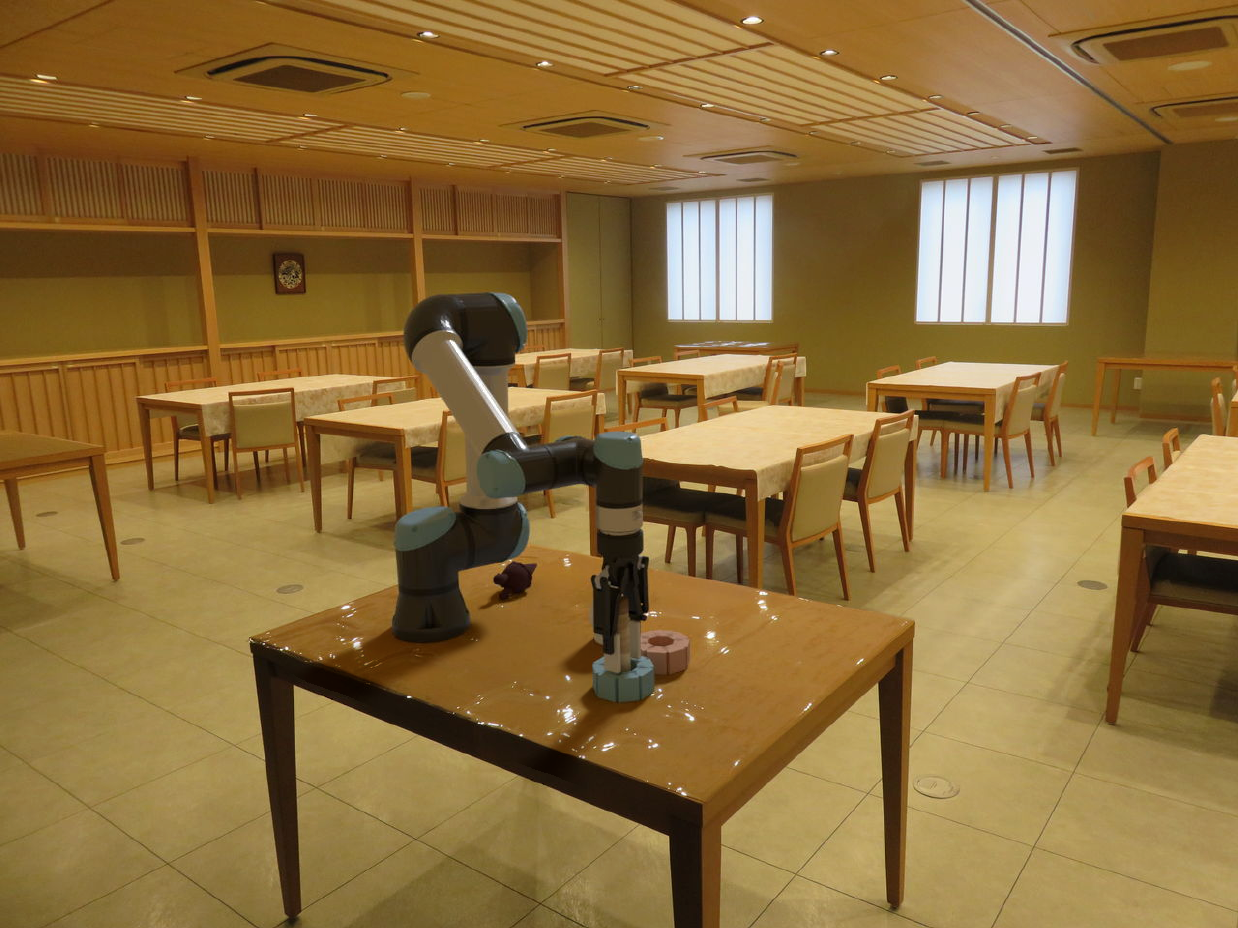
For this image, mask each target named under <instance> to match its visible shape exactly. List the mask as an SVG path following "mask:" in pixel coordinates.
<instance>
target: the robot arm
mask: <svg viewBox="0 0 1238 928" xmlns="http://www.w3.org/2000/svg"><path fill="white" fill-rule="evenodd" d="M526 319H527V318H526V316H525V314H524V311H523V309H522V307H521V306H520V304H519V303H518V301H517V300H516V299H515V298H514V297H513V296H512V295H510V294H508V293H505V292H491V291H484V292H481V291H480V292H470V293H469V292H465V293H451V294H447V293H438V294H437V293H436V294H434V295H429V296H428V297H426V298H423V299H422V300H420V301H419V302H418V303H416V305H415V306H414V307H413V309H412V310H411V311H410V312H409V313H408V315H407V319H406V321H405V323H404V327H403V335H402V337H403V345H404V349H405V353H406V355H407V358H408V359H409V360H410V362H411V364H412V365H413V367H414V368H415V370H416V371H417V372H418V373H421V374H423V375H426V377H427V378H428V380H429V381H430V383H431V384H432V386H433V387H434V389H435V391H436V392H437V394H438V395H439V396H440V398H441V400H442V401H443V403H444V404H445V406H446V407H447V409H448V410H449V412H450V414H451V415H452V417H453V418H454V420H455V421H456V423H457V425H458V426H459V427H460V428H461V430H462V432H463V434H464V448H465V449H464V451H465V452H464V454H465V456H464V457H465V482H466V483H465V484H466V491H465V493H463V494H462V495H461V496H460V497H459V499H458V501H459V502H458V503H459V504H458V505H459V511H456V512H455V511H454V509H453V508H452V507H449V506H444V505H443V506H442V505H441V506H440V505H438V506H433V507H431V506H430V507H429V506H428V507H423V508H420V509H415V510H412V511H410V512H408V513H407V514H405V515H403V516H401V517H400V518H399V519H398V521H397V522H396V523H395V526H394V540H393V546H394V549H395V560H396V561H395V562H396V573H397V584H398V585H397V586H398V587H397V588H398V595H397V599H396V600H397V601H396V605H395V610H394V615H393V616H392V619H391V628H392V629H391V630H392V631H391V632H392V634H393V636H395V637H396V638H398V639H400V640H402V641H404V642H405V641H406V642H411V643H431V642H441V641H445V640H449V639H453V638H455V637H458V636H460V635H462V634H463V633H465V632H466V631H467V630H469V628H470V626H471V613H470V610H469V609H468V607H467V605H466V601H465V598H464V595H463V594H462V591H461V589H460V582H459V581H460V578H459V573H460V572H463V571H466V570H471V569H474V568H475V569H476V568H480V567H484V566H489V565H494V564H499V563H500V564H502V563H505V562H507V561H508V560H512V559H515V558H516V559H517V558H518V557H519V556H520V555H521V554H522V553H523V552H524V551H525V549H526V548H527V546H528V544H529V540H530V539H529V538H530V532H531V529H530V528H531V527H530V519H529V518H528V512H527V509H526V508H525V507H524V506H523V504H521V503H520V502H518V497H519V496H523V495H527V494H533V493H537V492H542V491H549V490H555V489H556V490H557V489H560V488H565V487H572V486H577V485H578V486H579V485H583V486H587V487H588V486H589V487H591V488H594V489H595V526H596V528H597V529H598V530H597V531H596V550H597V553H598V554H599V556H601V557H602V565H601V571H600V573H598V574H599V575H598V574H592V575H591V576H590V582H591V583H590V584H591V587H592V601H593V627H592V629H593V630H592V632H593V634H595V633H596V634H600V635H602V636H603V645H602V651H603V656H604V670H608V671H611V672H615V673H619V672H621V667H620V634H617V633H616V632H617V624H618V617H619V603H620V602H621V595H622V594H623V596H624V597H627V598H628V608H629V618H630V619H629V636H630V658H633V659H637V660H639V659H641V633H642V624H641V623H642V622H646V621H647V620H648V615H645V614H648V613H649V611H650V608H649V607H650V604H649V598H650V597H649V575H648V574H649V573H648V570H649V564H650V557H649V556H646V555H640V554H642V553H643V551H644V547H645V545H644V543H645V542H644V530H643V529H642V527H643V525H644V513H643V512H644V511H643V509H644V508H643V499H644V498H643V497H644V495H643V494H644V493H643V490H644V488H643V483H644V481H643V478H644V477H643V473H644V472H643V471H644V470H643V469H644V468H643V464H644V457H643V452H642V450H643V449H642V440H641V438H640V436H639V435H638V434H637V433H634V432H630V431H626V432H625V431H608V432H607V431H606V432H602V433H598V434H597V435H596V436H595V438H594V439H591V438H587V437H585V436H584V437H583V436H581V435H574V436H573V435H562V436H560V437H559V438H557V439H556V440H555V441H553V442H547V443H541V444H533V445H529V444H528V443H527V442H526V440H525V439H524V438H523V436H522V435H521V434H520V432H519V431H518V429H516V427H515V426H514V424H513V422H512V421H511V419H510V417H509V379H508V378H509V375H508V374H509V372H510V371H511V370H512V368H513V367H514V366H516V354H517V353H519V352H521V351H523V350H524V348H525V347H526V343H527V341H528V324H527V320H526ZM610 585H611V586H615V587H618V588H615V587H611V586H610ZM641 621H642V622H641Z"/></svg>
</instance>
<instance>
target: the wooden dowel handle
mask: <svg viewBox="0 0 1238 928" xmlns="http://www.w3.org/2000/svg"><path fill="white" fill-rule="evenodd" d="M616 633H617V634H620V667H621V672H626V671H631V660H630V636H629V608H628V598H627V597H624V596H621V602H620V603H619V617H618V624H617V632H616Z"/></svg>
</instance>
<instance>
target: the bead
mask: <svg viewBox="0 0 1238 928" xmlns="http://www.w3.org/2000/svg"><path fill="white" fill-rule="evenodd" d="M630 660H631V671H626V672H619V673H615V672H611V671H608V670H604V655H603V656H601V658H599V659H597V660H596V661H594V662H592V664H591V667H592V668H591V669H592V670H591V672H592V689H593V690H594V693H595V697H596V696H597V697H598V699H599V698H600V699H603V700H606V701H610V702H613V703H617V702H618V703H627V702H635V701H637V702H638V701H640V699H641V700H643V699H645V698H646V697H648V696H649V695H650V694H652V693H653V692H655V674H654V666H653V664H652V662H651V661H650V659H647V657H644V656H641V659H639V660H637V659H633V658H630Z"/></svg>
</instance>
